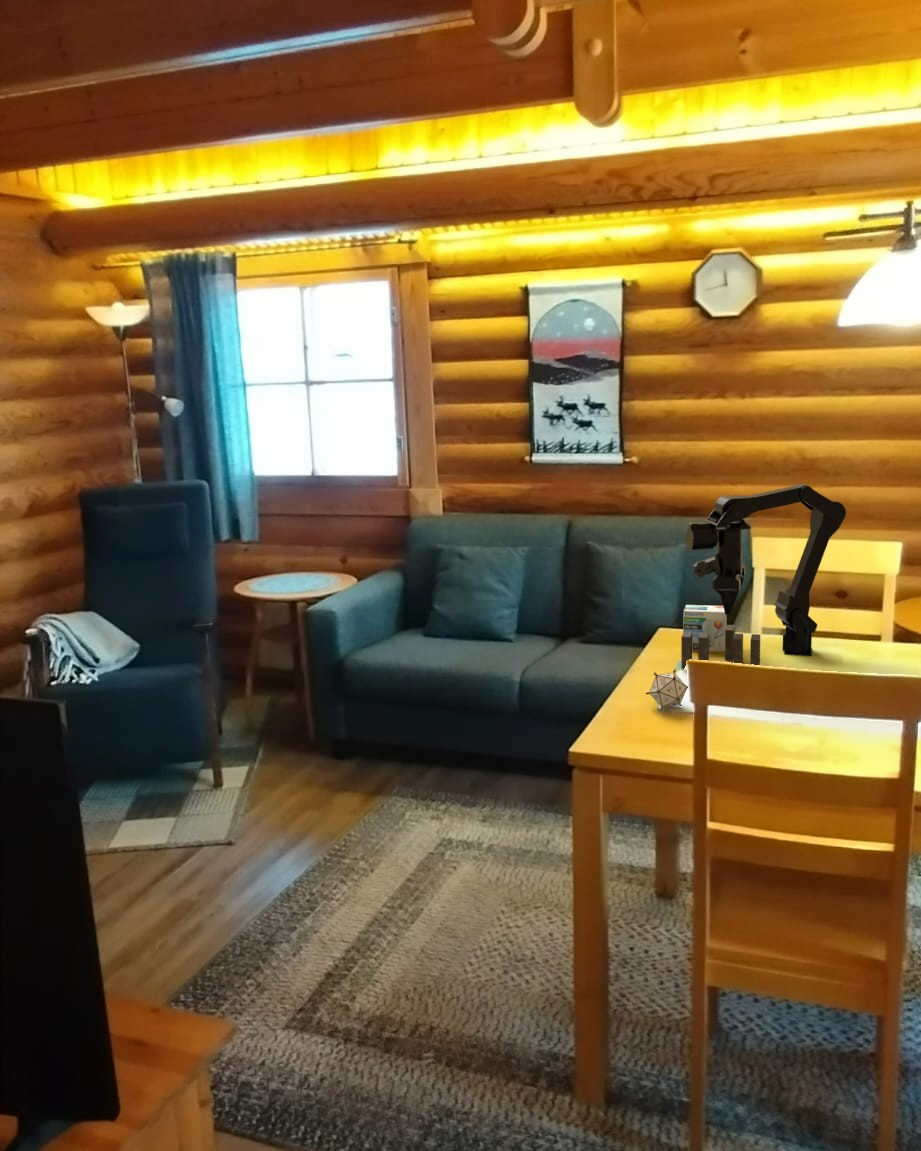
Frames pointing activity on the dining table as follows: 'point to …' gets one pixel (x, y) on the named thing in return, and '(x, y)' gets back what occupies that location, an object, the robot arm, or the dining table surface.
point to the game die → (668, 690)
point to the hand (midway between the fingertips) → (729, 609)
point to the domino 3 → (729, 641)
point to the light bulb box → (706, 625)
